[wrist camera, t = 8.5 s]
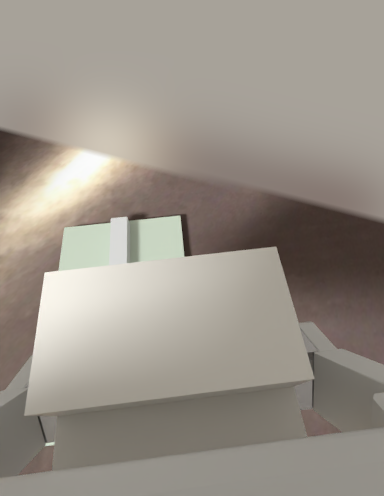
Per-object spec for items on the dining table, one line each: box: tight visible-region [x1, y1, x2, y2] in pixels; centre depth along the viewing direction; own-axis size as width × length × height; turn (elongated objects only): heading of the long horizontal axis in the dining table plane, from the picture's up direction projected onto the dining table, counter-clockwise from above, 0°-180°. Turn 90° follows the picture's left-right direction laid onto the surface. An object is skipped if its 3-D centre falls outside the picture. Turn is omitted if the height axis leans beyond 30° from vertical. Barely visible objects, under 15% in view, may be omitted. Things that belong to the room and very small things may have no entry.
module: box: [24, 247, 315, 471], centre depth 10 cm, size 5×6×8 cm
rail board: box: [45, 216, 185, 446], centre depth 26 cm, size 19×12×2 cm, turn 6°
